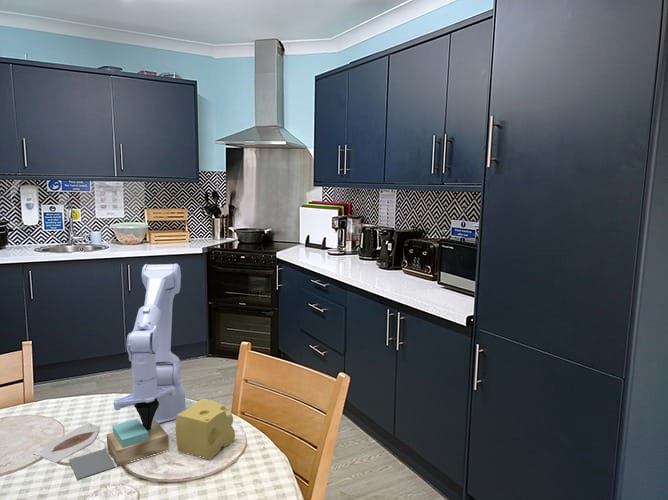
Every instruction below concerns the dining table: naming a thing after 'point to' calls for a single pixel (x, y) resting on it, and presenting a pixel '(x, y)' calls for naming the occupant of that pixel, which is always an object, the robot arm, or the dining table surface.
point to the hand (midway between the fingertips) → (147, 428)
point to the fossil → (70, 443)
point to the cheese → (204, 429)
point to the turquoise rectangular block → (130, 433)
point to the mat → (91, 464)
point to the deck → (138, 446)
